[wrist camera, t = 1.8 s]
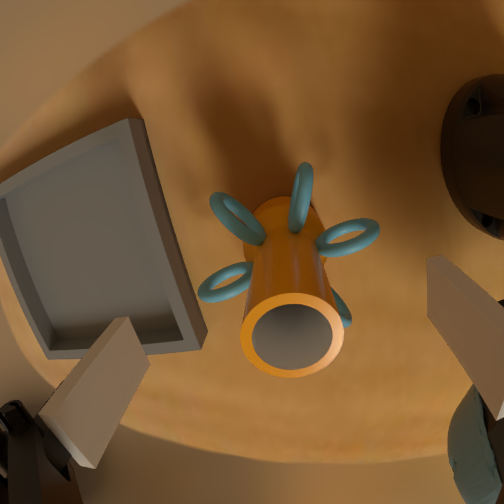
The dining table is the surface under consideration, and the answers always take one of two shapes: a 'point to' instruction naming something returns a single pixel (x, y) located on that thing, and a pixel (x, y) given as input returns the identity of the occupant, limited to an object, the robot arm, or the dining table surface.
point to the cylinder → (287, 279)
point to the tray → (97, 247)
